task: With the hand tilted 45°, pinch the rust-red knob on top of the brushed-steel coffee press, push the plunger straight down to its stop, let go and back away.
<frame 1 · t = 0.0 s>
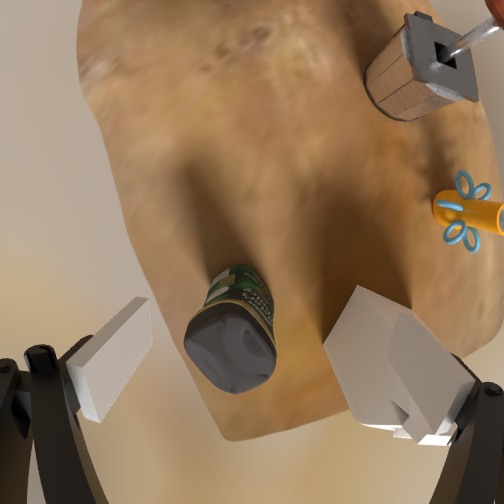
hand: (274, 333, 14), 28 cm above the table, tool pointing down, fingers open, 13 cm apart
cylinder: (444, 207, 39), on the table
press carafe: (396, 88, 35), on the table
coffee jar: (243, 293, 44), on the table
plunger: (468, 40, 16), point 20 cm above the table, slide at 0.0 cm
milk: (368, 327, 44), on the table
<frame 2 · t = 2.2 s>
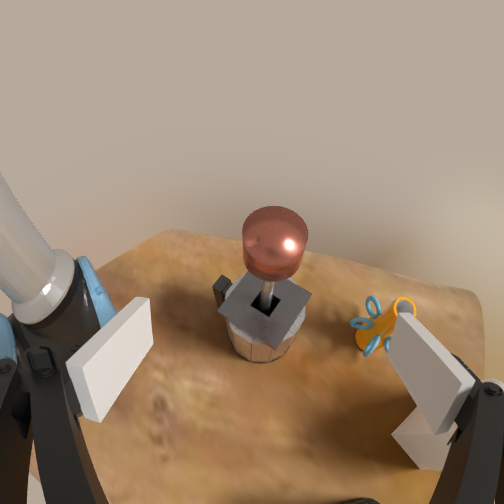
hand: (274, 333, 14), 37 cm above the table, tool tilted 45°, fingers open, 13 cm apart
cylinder: (368, 338, 50), on the table
press carafe: (261, 333, 51), on the table
plunger: (267, 286, 34), point 20 cm above the table, slide at 0.0 cm
milk: (425, 430, 39), on the table
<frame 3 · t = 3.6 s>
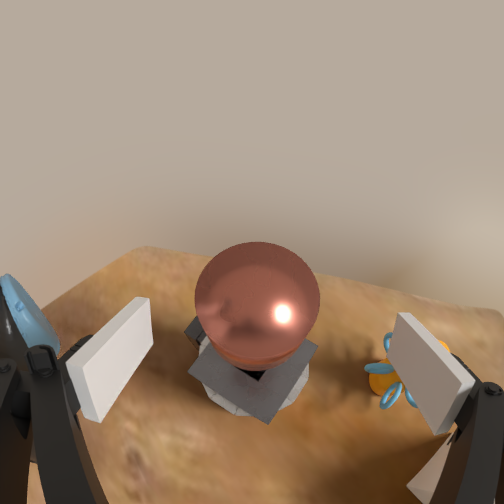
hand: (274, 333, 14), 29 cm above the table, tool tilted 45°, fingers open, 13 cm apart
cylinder: (384, 378, 39), on the table
press carafe: (252, 378, 39), on the table
plunger: (254, 349, 22), point 20 cm above the table, slide at 0.0 cm
milk: (444, 476, 28), on the table
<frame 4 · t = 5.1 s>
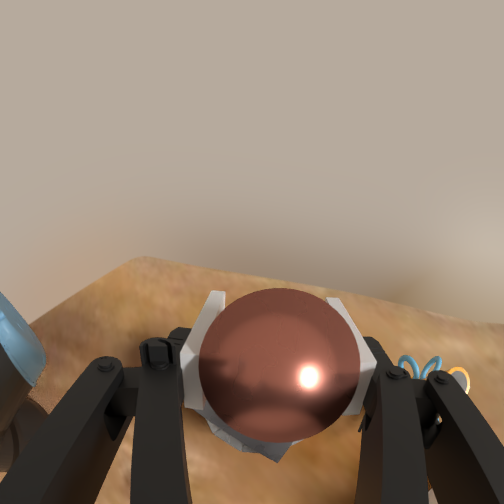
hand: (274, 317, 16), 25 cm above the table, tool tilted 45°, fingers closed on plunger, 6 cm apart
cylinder: (395, 400, 35), on the table
press carafe: (258, 402, 35), on the table
plunger: (265, 390, 18), point 20 cm above the table, slide at 0.0 cm, touching gripper
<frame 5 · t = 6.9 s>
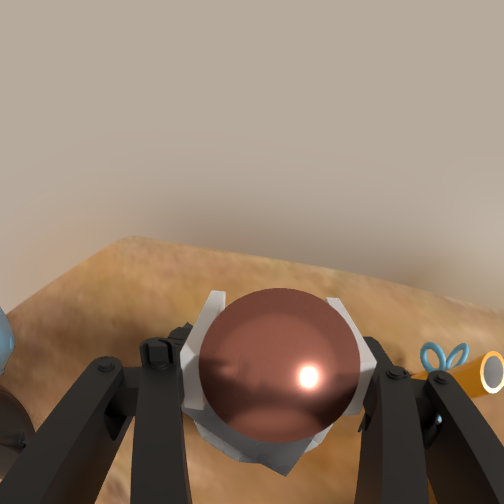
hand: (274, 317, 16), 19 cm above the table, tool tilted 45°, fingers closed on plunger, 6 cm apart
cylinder: (415, 396, 30), on the table
press carafe: (259, 400, 30), on the table
plunger: (265, 390, 18), point 14 cm above the table, slide at 6.0 cm, touching gripper
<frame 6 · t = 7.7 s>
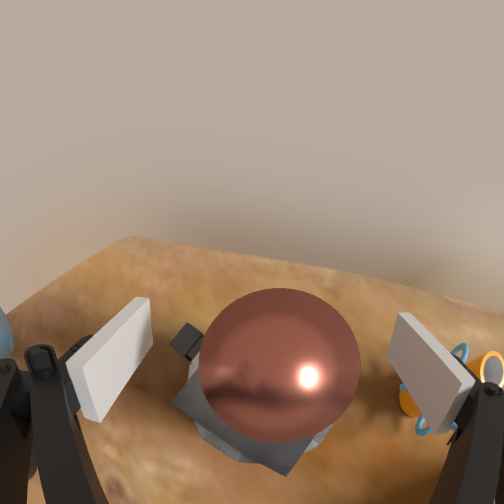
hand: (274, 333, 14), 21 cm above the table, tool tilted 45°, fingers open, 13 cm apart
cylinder: (415, 396, 30), on the table
press carafe: (259, 400, 30), on the table
plunger: (265, 390, 18), point 14 cm above the table, slide at 6.0 cm
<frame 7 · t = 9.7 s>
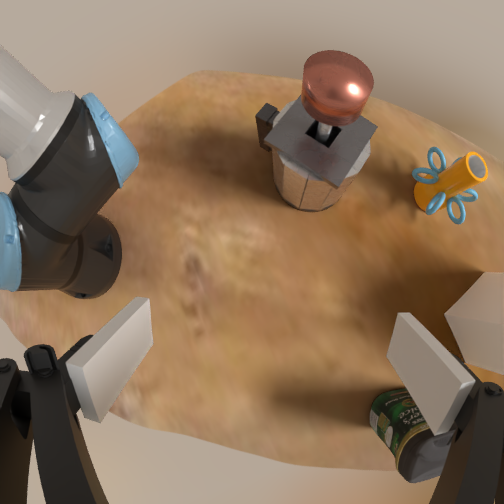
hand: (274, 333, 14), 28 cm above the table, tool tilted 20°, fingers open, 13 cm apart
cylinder: (426, 196, 41), on the table
press carafe: (310, 177, 43), on the table
coffee jar: (393, 407, 39), on the table
plunger: (322, 135, 29), point 14 cm above the table, slide at 6.0 cm
milk: (476, 317, 39), on the table
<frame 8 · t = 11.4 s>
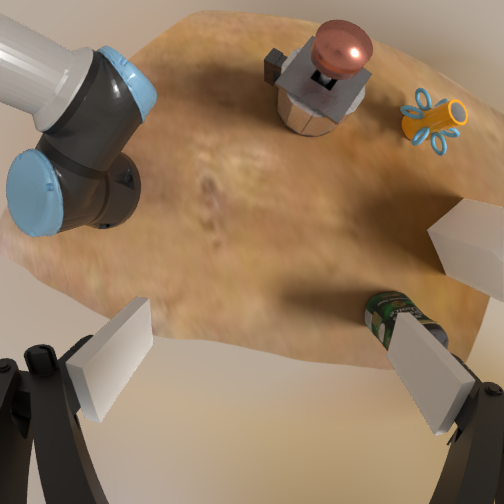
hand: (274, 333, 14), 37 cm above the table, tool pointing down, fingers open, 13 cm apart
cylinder: (413, 127, 44), on the table
press carafe: (309, 106, 45), on the table
coffee jar: (384, 308, 52), on the table
plunger: (324, 79, 31), point 14 cm above the table, slide at 6.0 cm
milk: (455, 236, 48), on the table
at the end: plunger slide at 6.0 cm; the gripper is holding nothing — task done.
